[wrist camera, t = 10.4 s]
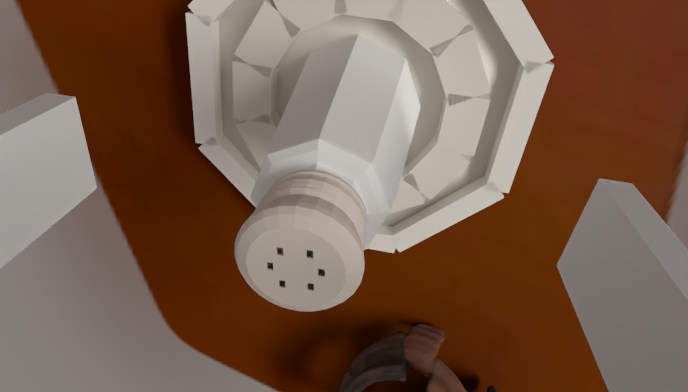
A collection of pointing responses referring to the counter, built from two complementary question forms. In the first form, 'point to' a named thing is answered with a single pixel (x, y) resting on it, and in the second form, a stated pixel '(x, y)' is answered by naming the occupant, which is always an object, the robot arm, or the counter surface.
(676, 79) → the counter surface
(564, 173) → the counter surface
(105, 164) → the counter surface
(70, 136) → the robot arm
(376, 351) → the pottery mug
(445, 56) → the dish
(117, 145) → the counter surface
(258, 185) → the pepper shaker
